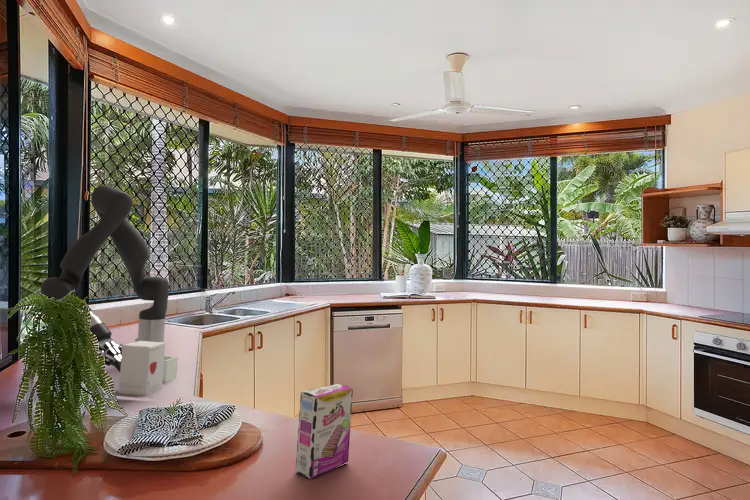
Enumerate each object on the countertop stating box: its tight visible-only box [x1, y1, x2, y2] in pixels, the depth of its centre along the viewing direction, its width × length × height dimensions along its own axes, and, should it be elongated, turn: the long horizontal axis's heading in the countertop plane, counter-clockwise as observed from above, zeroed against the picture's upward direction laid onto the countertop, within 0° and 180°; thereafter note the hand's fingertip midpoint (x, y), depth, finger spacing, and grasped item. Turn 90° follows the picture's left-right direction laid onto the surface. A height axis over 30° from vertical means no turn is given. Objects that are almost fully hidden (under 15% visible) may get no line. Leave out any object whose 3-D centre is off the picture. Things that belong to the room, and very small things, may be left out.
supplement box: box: [118, 341, 166, 396], centre depth 146 cm, size 9×9×15 cm
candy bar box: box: [295, 383, 354, 480], centre depth 100 cm, size 11×5×16 cm, turn 141°
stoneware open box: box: [162, 355, 179, 384], centre depth 160 cm, size 7×7×8 cm
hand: (126, 372), depth 147 cm, fingers closed
